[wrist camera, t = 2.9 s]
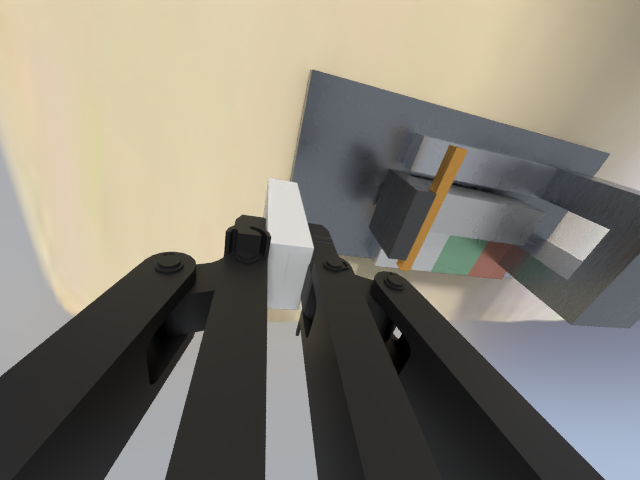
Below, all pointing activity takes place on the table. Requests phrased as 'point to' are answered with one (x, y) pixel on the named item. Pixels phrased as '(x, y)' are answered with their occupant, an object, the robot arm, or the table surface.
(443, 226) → the orange-striped grey block
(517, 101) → the table surface
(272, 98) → the table surface
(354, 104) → the gauge base
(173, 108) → the table surface
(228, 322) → the robot arm
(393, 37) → the table surface
